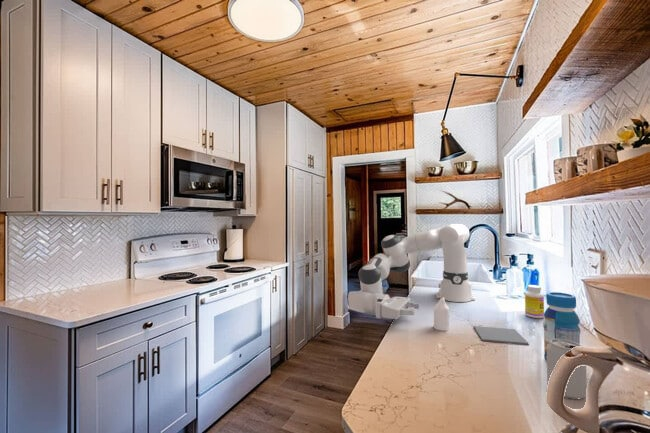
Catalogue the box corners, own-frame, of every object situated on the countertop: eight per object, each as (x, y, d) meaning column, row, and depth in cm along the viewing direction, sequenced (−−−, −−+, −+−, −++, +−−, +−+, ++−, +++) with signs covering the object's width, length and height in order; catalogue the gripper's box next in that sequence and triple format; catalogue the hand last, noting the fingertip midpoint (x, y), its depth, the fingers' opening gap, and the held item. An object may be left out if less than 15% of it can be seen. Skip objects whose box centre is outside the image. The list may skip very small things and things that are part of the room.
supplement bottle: (541, 319, 124) (541, 288, 124) (523, 316, 129) (522, 286, 129) (545, 316, 129) (545, 286, 129) (527, 312, 134) (527, 283, 134)
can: (575, 405, 68) (574, 351, 68) (540, 388, 75) (539, 339, 75) (593, 396, 71) (593, 345, 71) (558, 381, 78) (558, 334, 78)
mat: (473, 327, 116) (473, 326, 116) (514, 330, 113) (514, 329, 113) (482, 340, 104) (482, 339, 104) (528, 344, 100) (528, 343, 100)
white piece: (431, 295, 119) (445, 294, 119) (431, 325, 119) (446, 325, 119) (436, 299, 113) (451, 299, 113) (437, 331, 113) (452, 331, 113)
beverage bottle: (573, 374, 81) (572, 300, 81) (538, 361, 88) (537, 293, 89) (586, 366, 86) (585, 295, 86) (551, 354, 93) (551, 289, 93)
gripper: (390, 305, 136) (422, 310, 129) (374, 319, 118) (410, 325, 111) (390, 291, 136) (422, 295, 129) (374, 303, 118) (410, 308, 112)
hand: (416, 309), depth 120 cm, fingers open, 8 cm apart
